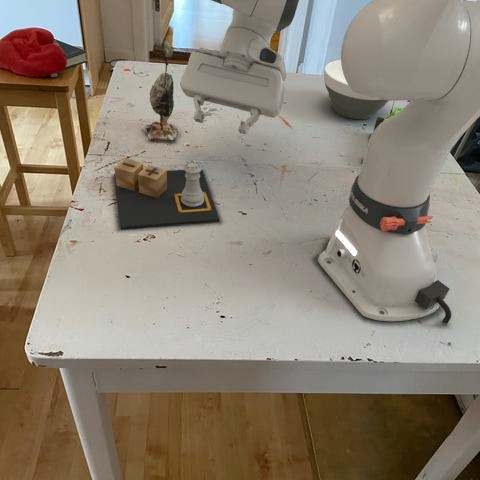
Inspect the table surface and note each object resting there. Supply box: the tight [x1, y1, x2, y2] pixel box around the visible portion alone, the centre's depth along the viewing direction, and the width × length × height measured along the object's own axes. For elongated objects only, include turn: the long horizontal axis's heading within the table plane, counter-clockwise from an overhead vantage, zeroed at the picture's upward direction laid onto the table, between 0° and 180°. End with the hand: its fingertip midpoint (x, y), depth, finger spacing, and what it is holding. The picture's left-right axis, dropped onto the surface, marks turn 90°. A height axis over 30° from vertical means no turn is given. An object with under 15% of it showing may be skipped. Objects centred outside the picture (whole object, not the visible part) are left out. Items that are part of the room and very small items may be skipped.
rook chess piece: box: [181, 159, 204, 207], centre depth 88 cm, size 4×4×8 cm
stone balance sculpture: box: [144, 40, 179, 142], centre depth 102 cm, size 8×11×20 cm
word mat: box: [113, 169, 220, 230], centre depth 91 cm, size 18×18×1 cm
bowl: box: [323, 59, 389, 120], centre depth 123 cm, size 20×20×10 cm
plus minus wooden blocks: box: [114, 157, 168, 198], centre depth 91 cm, size 4×9×4 cm, turn 68°
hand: (220, 127), depth 91 cm, fingers open, 8 cm apart
